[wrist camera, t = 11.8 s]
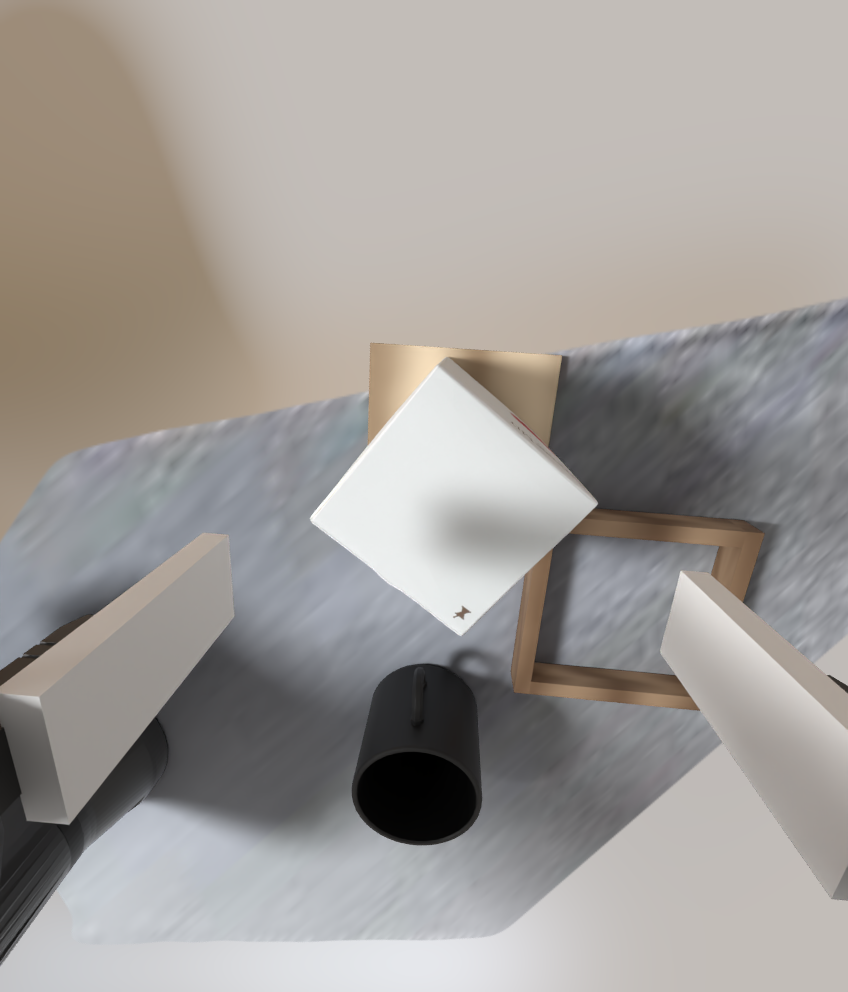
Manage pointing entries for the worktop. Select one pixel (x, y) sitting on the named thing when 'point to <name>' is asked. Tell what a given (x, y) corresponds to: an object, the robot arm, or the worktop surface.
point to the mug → (420, 758)
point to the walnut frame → (616, 685)
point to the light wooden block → (504, 374)
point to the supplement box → (454, 499)
